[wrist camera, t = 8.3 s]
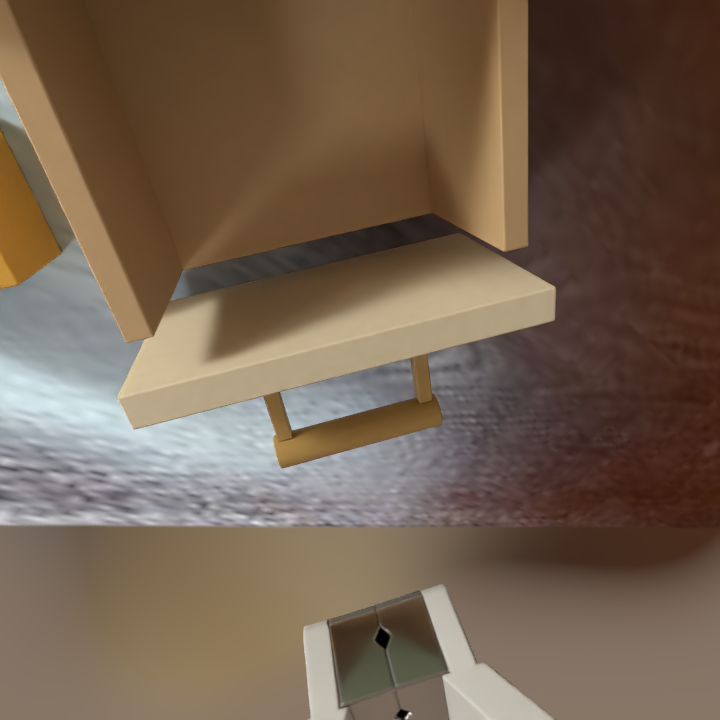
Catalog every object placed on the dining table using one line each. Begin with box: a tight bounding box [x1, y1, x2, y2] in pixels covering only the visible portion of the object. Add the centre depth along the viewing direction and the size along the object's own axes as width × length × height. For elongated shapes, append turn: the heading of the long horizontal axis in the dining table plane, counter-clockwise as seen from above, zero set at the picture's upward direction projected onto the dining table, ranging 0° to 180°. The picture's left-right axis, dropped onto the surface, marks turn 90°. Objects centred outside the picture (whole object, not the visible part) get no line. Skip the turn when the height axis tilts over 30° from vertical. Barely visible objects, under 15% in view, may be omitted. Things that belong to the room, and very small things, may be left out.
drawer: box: [0, 0, 556, 468], centre depth 16 cm, size 21×14×8 cm, turn 10°
